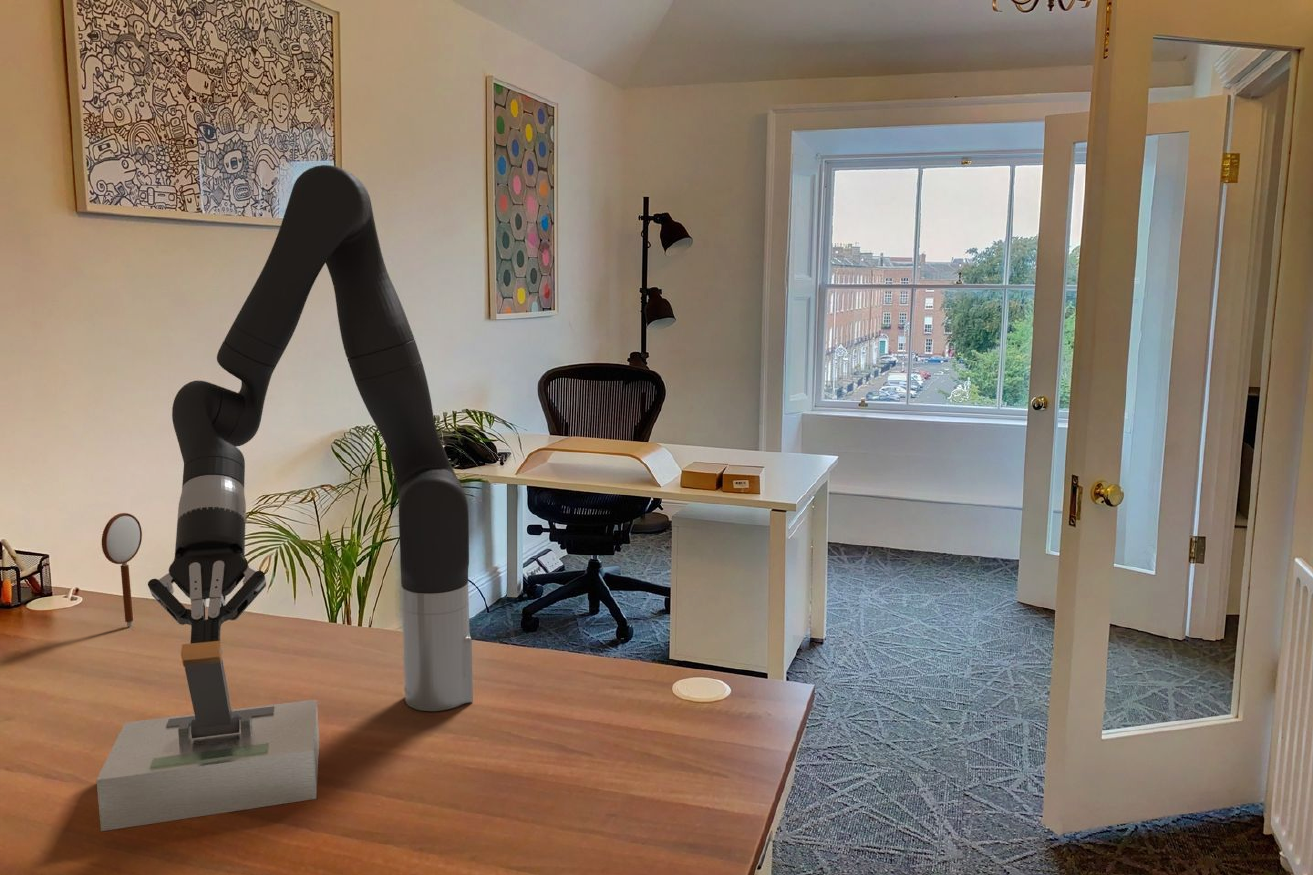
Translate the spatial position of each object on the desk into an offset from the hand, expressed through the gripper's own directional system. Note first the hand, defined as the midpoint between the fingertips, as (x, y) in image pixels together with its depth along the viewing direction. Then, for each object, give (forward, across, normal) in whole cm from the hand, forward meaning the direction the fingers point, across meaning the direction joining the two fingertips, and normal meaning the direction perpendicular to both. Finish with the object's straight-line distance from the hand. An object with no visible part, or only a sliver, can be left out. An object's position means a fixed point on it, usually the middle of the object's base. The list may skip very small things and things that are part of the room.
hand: (205, 653), depth 105 cm
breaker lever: (+5, 0, +12) cm, 13 cm away
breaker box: (+10, 0, +16) cm, 18 cm away
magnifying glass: (-33, -21, +58) cm, 70 cm away
